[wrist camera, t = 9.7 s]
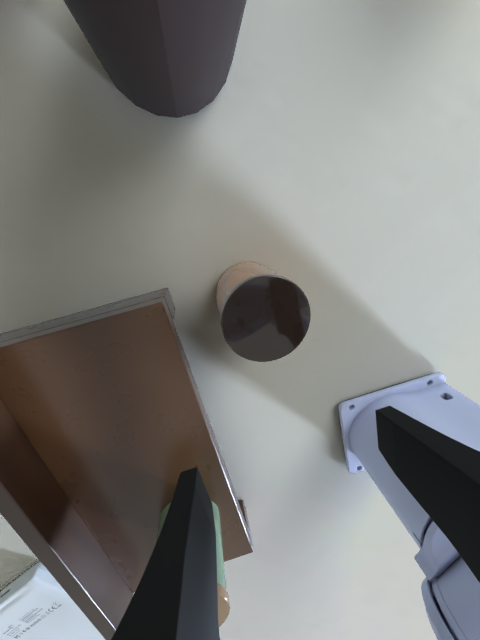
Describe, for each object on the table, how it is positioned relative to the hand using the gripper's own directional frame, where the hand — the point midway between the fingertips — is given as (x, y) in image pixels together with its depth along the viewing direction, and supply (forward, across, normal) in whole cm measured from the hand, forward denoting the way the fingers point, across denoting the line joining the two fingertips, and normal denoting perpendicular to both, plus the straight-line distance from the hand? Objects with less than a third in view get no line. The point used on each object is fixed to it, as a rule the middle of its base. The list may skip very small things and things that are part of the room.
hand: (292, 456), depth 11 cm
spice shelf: (+10, +9, +5) cm, 15 cm away
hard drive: (+10, +23, +22) cm, 33 cm away
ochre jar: (+10, -1, -4) cm, 11 cm away
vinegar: (+11, 0, -18) cm, 21 cm away
